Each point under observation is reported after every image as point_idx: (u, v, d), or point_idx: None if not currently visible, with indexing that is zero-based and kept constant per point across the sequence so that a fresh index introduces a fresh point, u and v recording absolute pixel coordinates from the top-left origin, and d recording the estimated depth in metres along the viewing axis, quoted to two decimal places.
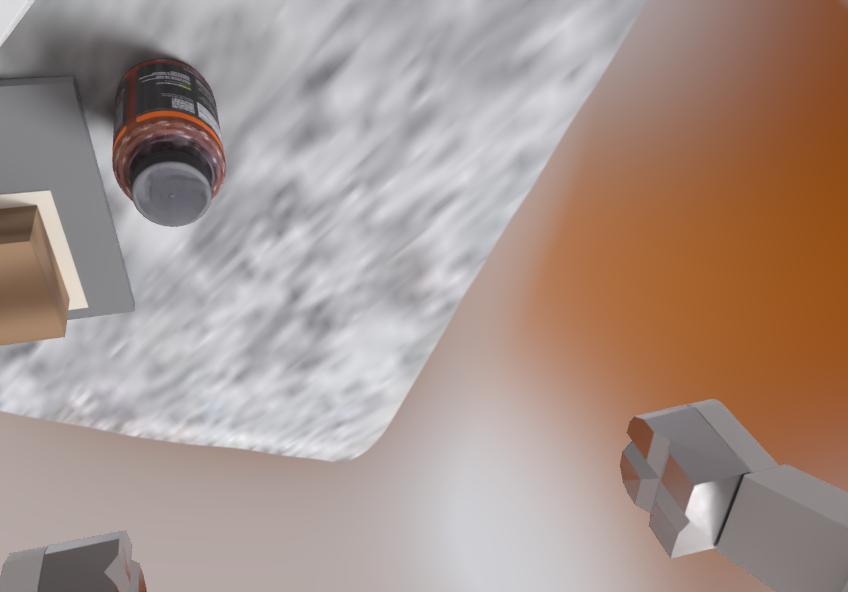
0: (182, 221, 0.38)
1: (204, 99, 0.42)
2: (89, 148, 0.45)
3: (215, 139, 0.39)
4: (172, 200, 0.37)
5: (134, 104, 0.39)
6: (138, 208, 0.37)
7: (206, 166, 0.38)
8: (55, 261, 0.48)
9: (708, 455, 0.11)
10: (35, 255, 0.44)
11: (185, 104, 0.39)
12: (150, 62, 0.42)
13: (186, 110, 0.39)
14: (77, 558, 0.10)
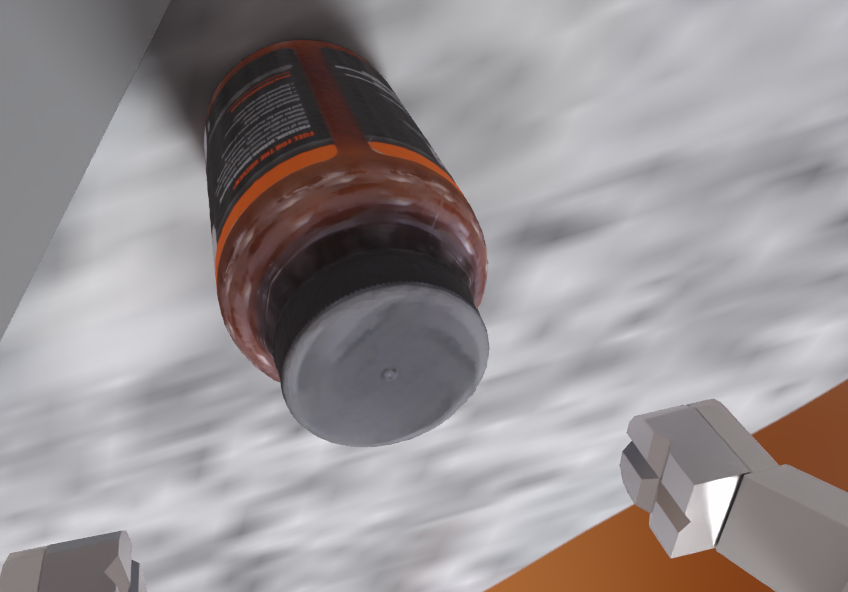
0: (353, 438, 0.14)
1: None
2: (103, 130, 0.19)
3: None
4: (381, 385, 0.13)
5: (344, 108, 0.16)
6: (291, 367, 0.12)
7: None
8: None
9: (707, 455, 0.11)
10: None
11: None
12: (346, 51, 0.20)
13: None
14: (77, 558, 0.10)
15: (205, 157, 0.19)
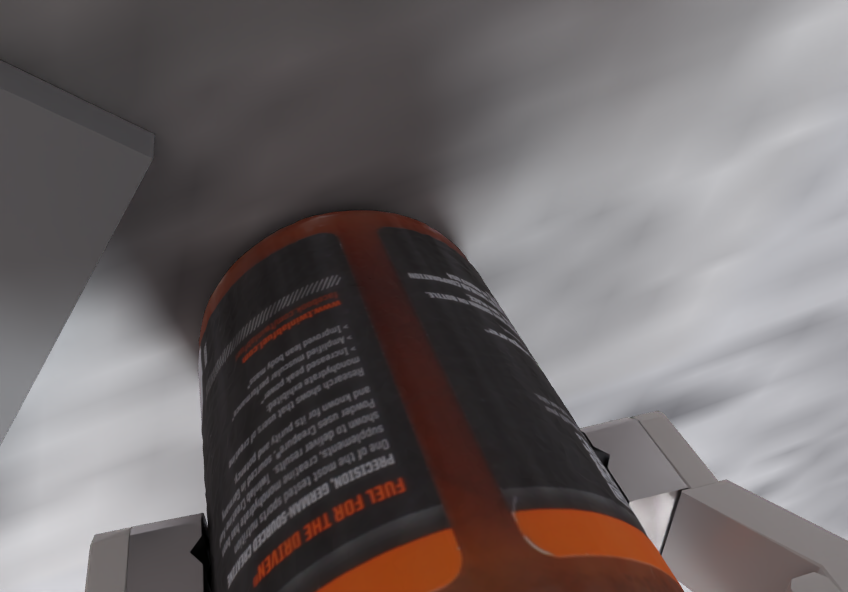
0: None
1: None
2: (41, 361, 0.12)
3: None
4: None
5: (446, 399, 0.09)
6: None
7: None
8: None
9: (645, 470, 0.11)
10: None
11: None
12: (414, 225, 0.13)
13: (638, 521, 0.09)
14: (160, 539, 0.10)
15: (200, 402, 0.12)
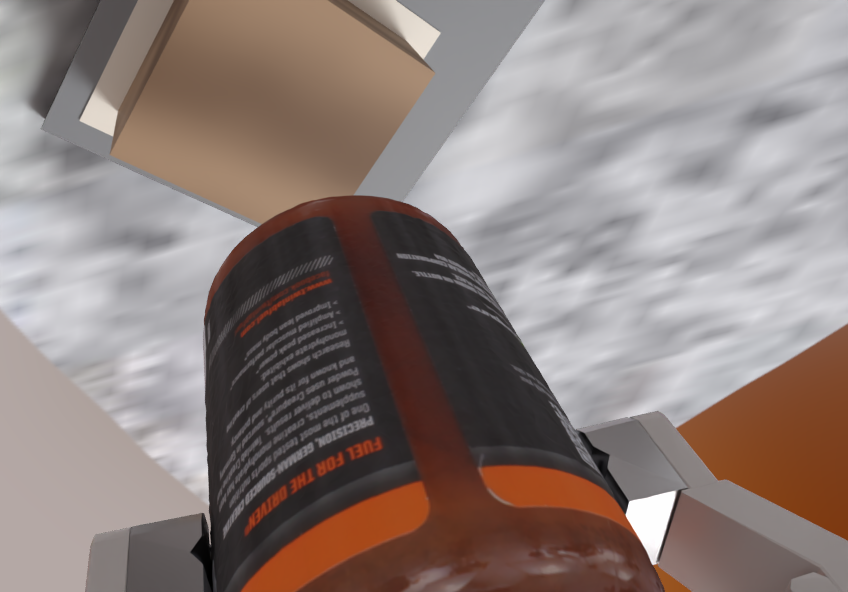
0: None
1: None
2: (533, 14, 0.29)
3: None
4: None
5: (424, 368, 0.10)
6: None
7: None
8: None
9: (645, 470, 0.11)
10: (415, 100, 0.25)
11: (583, 444, 0.10)
12: (406, 209, 0.14)
13: (605, 482, 0.10)
14: (160, 539, 0.10)
15: None
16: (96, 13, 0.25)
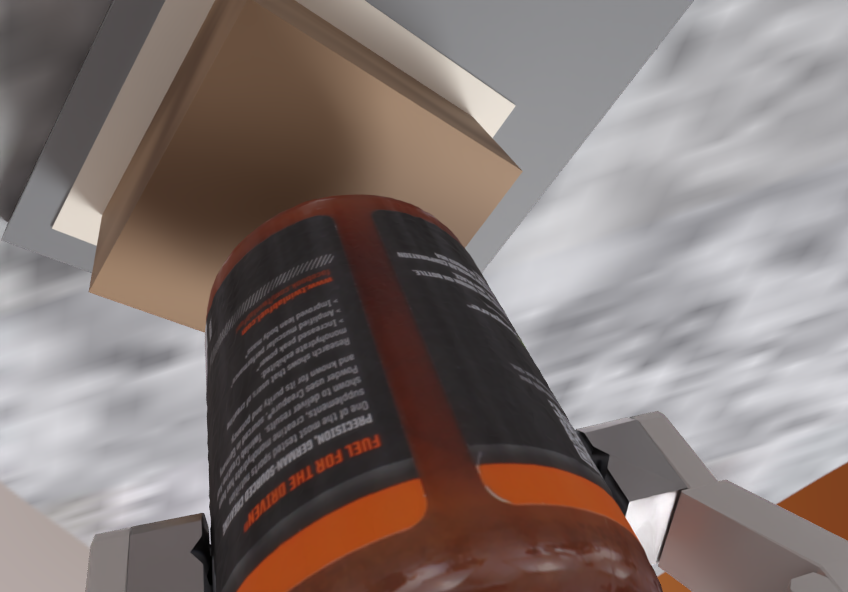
0: None
1: None
2: (630, 79, 0.23)
3: None
4: None
5: (423, 367, 0.10)
6: None
7: None
8: None
9: (645, 470, 0.11)
10: None
11: (582, 443, 0.10)
12: (407, 209, 0.14)
13: (603, 481, 0.10)
14: (160, 539, 0.10)
15: (206, 374, 0.13)
16: (71, 95, 0.18)
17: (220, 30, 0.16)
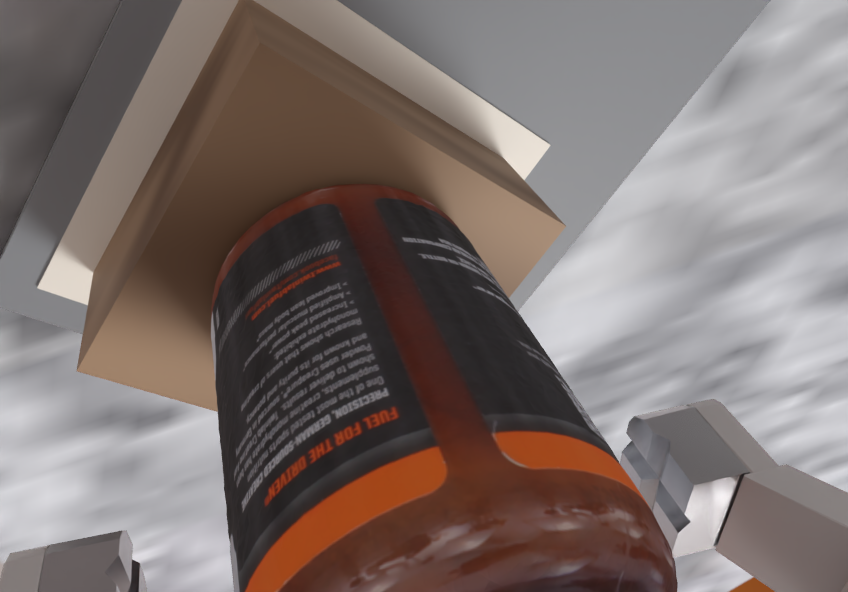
0: None
1: None
2: (674, 114, 0.21)
3: None
4: None
5: (435, 343, 0.10)
6: None
7: None
8: None
9: (708, 455, 0.11)
10: None
11: (589, 417, 0.11)
12: (408, 197, 0.14)
13: (611, 452, 0.10)
14: (77, 558, 0.10)
15: None
16: (58, 143, 0.16)
17: (226, 76, 0.14)
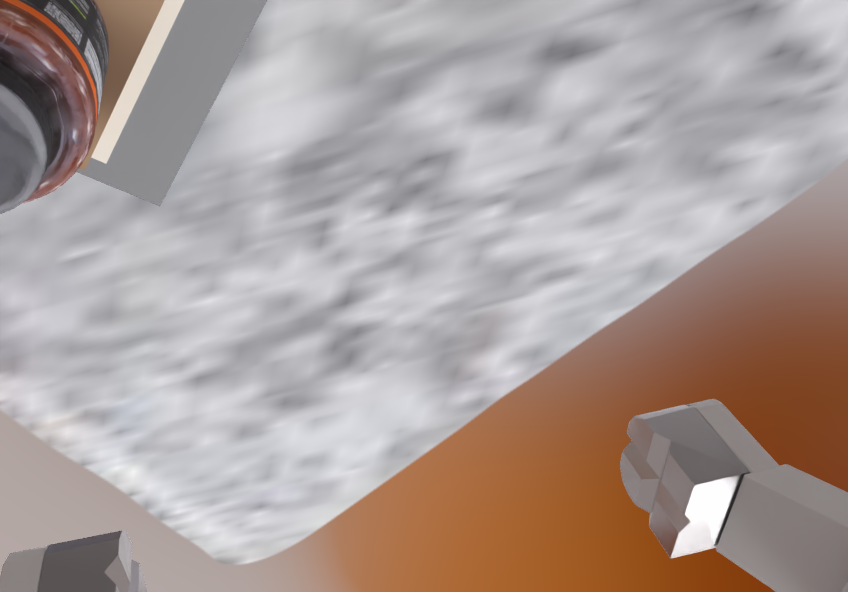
0: None
1: (99, 47, 0.23)
2: None
3: (94, 103, 0.20)
4: None
5: None
6: None
7: (54, 135, 0.19)
8: None
9: (708, 455, 0.11)
10: (154, 20, 0.27)
11: (69, 24, 0.21)
12: None
13: (67, 30, 0.20)
14: (77, 558, 0.10)
15: None
16: None
17: None
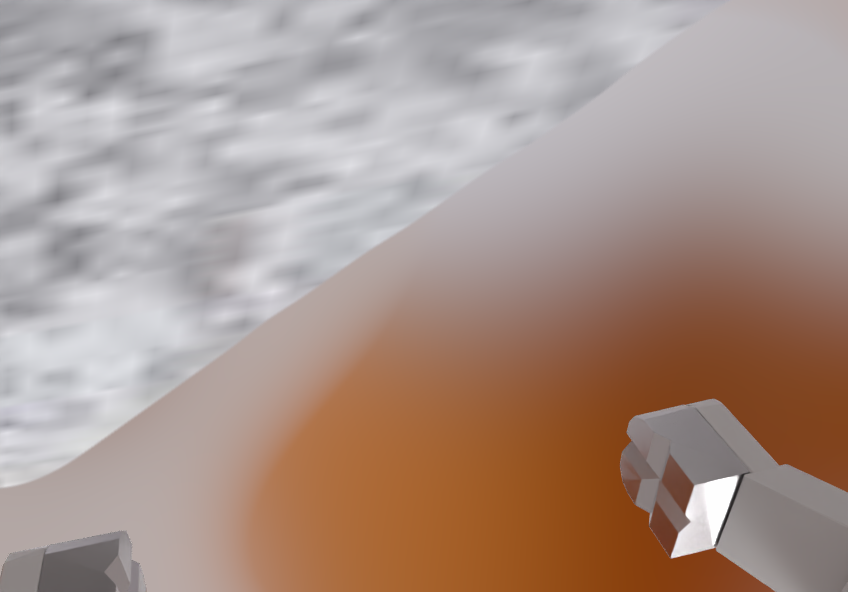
0: None
1: None
2: None
3: None
4: None
5: None
6: None
7: None
8: None
9: (707, 455, 0.11)
10: None
11: None
12: None
13: None
14: (76, 559, 0.10)
15: None
16: None
17: None
